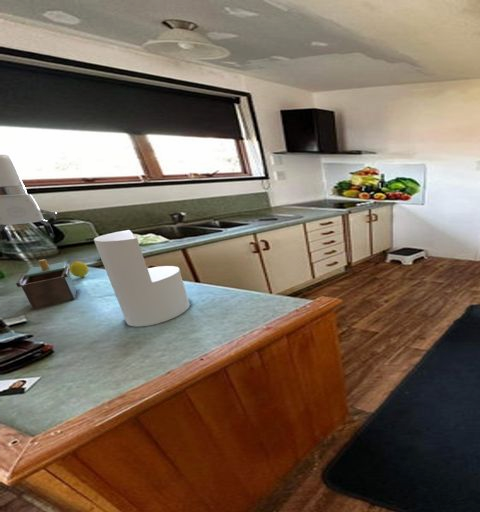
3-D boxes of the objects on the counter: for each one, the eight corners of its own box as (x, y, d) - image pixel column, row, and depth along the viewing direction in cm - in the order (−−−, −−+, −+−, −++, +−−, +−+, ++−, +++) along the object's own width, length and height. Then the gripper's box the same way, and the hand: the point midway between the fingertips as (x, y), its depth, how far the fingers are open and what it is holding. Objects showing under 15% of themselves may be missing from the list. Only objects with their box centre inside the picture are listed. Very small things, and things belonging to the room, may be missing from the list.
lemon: (78, 280, 123) (70, 264, 120) (71, 279, 125) (64, 262, 122) (93, 275, 128) (87, 259, 125) (87, 274, 130) (80, 258, 127)
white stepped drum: (130, 333, 82) (95, 245, 73) (123, 313, 93) (92, 235, 84) (195, 310, 94) (173, 232, 85) (183, 295, 105) (161, 225, 96)
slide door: (26, 277, 101) (20, 265, 99) (31, 269, 109) (25, 258, 107) (64, 269, 107) (59, 258, 106) (66, 263, 115) (62, 252, 113)
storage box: (30, 310, 97) (15, 283, 93) (34, 300, 105) (21, 274, 101) (77, 299, 105) (66, 273, 101) (79, 290, 113) (68, 266, 109)
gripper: (-37, 194, 88) (-11, 244, 93) (45, 190, 99) (64, 235, 105) (-30, 193, 93) (-6, 241, 98) (47, 189, 104) (65, 232, 110)
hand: (30, 238), depth 102 cm, fingers open, 9 cm apart
